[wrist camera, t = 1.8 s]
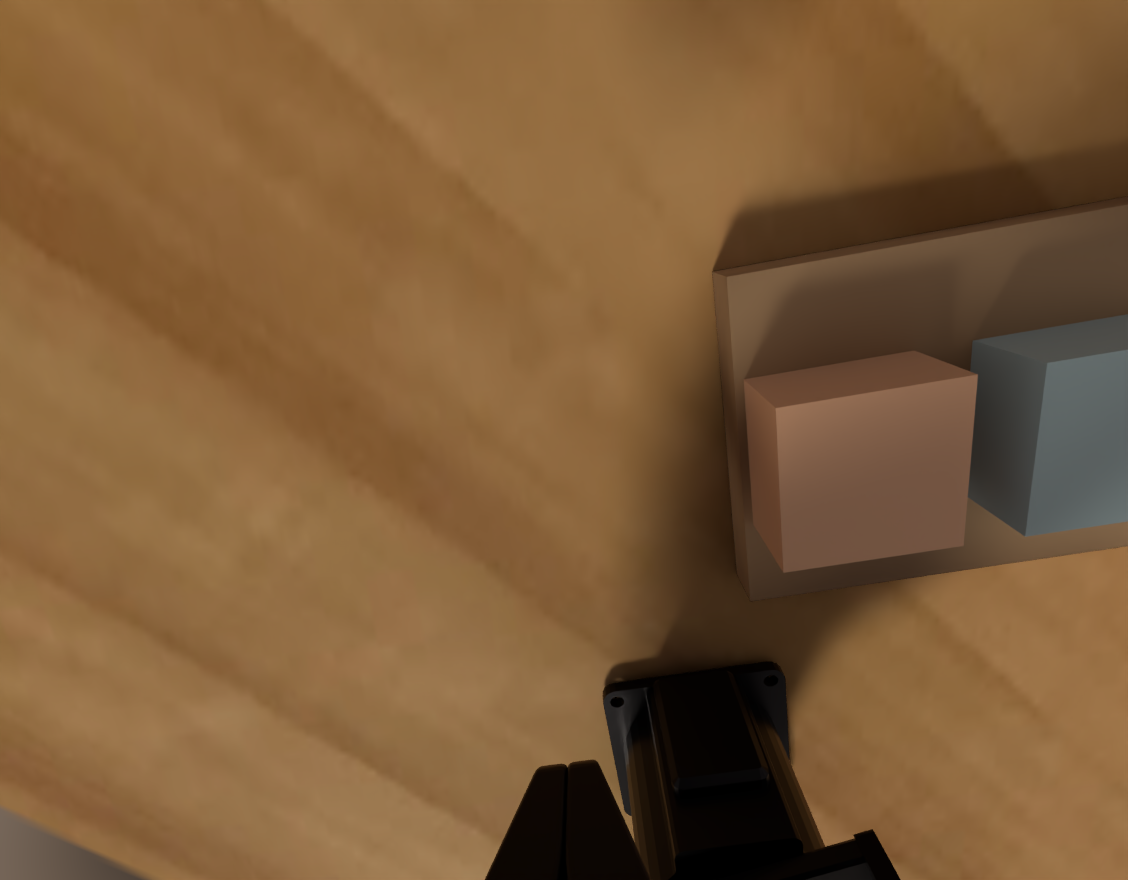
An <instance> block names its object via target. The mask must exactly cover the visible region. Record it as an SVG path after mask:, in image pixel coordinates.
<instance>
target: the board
mask: <svg viewBox="0 0 1128 880" xmlns="http://www.w3.org/2000/svg"><path fill="white" fill-rule="evenodd" d="M712 275H713V287H714V300H715V312H716V324H717V336H718V349H719V361H720V373H721V386H722V398H723V410H724V422H725V435H726V447H727V459H728V471H729V484H730V496H731V508H732V521H733V533H734V545H735V557H736V570H737V575H738V577H739V579H740V581H741V583H742V585H743V587H744V590H745V592H746V594H747V596H748V598H749V600H750V601H757V600H764V599H771V598H778V597H784V596H791V595H798V594H805V593H812V592H818V591H825V590H832V589H839V588H846V587H853V586H859V585H866V584H873V583H880V582H887V581H893V580H900V579H907V578H914V577H921V576H927V575H934V574H941V573H948V572H955V571H962V570H968V569H975V568H982V567H989V566H996V565H1002V564H1009V563H1016V562H1023V561H1030V560H1037V559H1043V558H1050V557H1057V556H1064V555H1071V554H1077V553H1084V552H1091V551H1098V550H1105V549H1112V548H1118V547H1125V546H1128V521H1127V522H1121V523H1114V524H1107V525H1101V526H1094V527H1087V528H1081V529H1074V530H1067V531H1060V532H1054V533H1047V534H1040V535H1034V536H1027V537H1025V536H1023V535H1022V534H1020V533H1019V532H1018V531H1016V530H1015V529H1013V528H1012V527H1010V526H1009V525H1007V524H1006V523H1004V522H1003V521H1002V520H1000V519H999V518H997V517H996V516H994V515H993V514H991V513H990V512H989V511H987V510H986V509H984V508H983V507H981V506H980V505H978V504H977V503H975V502H974V501H973V500H971V499H970V498H968V500H967V512H966V523H965V535H964V546H960V547H953V548H946V549H940V550H933V551H926V552H920V553H913V554H906V555H900V556H893V557H886V558H879V559H873V560H866V561H859V562H853V563H846V564H839V565H832V566H826V567H819V568H812V569H806V570H799V571H792V572H786V573H783V571H782V570H781V568H780V566H779V565H778V563H777V562H776V560H775V558H774V557H773V555H772V554H771V552H770V550H769V549H768V547H767V546H766V544H765V542H764V541H763V539H762V538H761V536H760V534H759V533H758V531H757V530H756V528H755V526H754V525H753V513H752V498H751V483H750V468H749V453H748V438H747V423H746V408H745V393H744V379H749V378H755V377H761V376H767V375H773V374H779V373H785V372H790V371H796V370H802V369H808V368H814V367H820V366H826V365H832V364H838V363H843V362H849V361H855V360H861V359H867V358H873V357H879V356H885V355H891V354H896V353H902V352H908V351H917V352H920V353H922V354H925V355H928V356H930V357H933V358H936V359H938V360H941V361H944V362H946V363H949V364H952V365H954V366H957V367H959V368H962V369H965V370H967V371H970V368H971V355H972V342H973V340H979V339H985V338H991V337H997V336H1002V335H1008V334H1014V333H1020V332H1026V331H1032V330H1038V329H1044V328H1050V327H1055V326H1061V325H1067V324H1073V323H1079V322H1085V321H1091V320H1097V319H1103V318H1109V317H1114V316H1120V315H1126V314H1128V196H1127V197H1121V198H1116V199H1110V200H1105V201H1099V202H1094V203H1088V204H1083V205H1077V206H1072V207H1066V208H1061V209H1055V210H1050V211H1044V212H1039V213H1033V214H1028V215H1022V216H1017V217H1011V218H1006V219H1000V220H995V221H989V222H984V223H978V224H973V225H967V226H962V227H956V228H951V229H945V230H939V231H934V232H928V233H923V234H917V235H912V236H906V237H901V238H895V239H890V240H884V241H879V242H873V243H868V244H862V245H857V246H851V247H846V248H840V249H835V250H829V251H824V252H818V253H813V254H807V255H802V256H796V257H791V258H785V259H780V260H774V261H769V262H763V263H758V264H752V265H747V266H741V267H736V268H730V269H725V270H719V271H714V272H712Z"/></svg>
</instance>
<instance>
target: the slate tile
mask: <svg viewBox="0 0 1128 880" xmlns="http://www.w3.org/2000/svg"><path fill="white" fill-rule="evenodd" d="M970 372H973V373H975V374H978V380H977V392H976V404H975V416H974V428H973V440H972V452H971V464H970V476H969V488H968V498H970V499H971V500H973V501H974V502H975V503H977V504H978V505H980V506H981V507H983V508H984V509H986V510H987V511H989V512H990V513H991V514H993V515H994V516H996V517H997V518H999V519H1000V520H1002V521H1003V522H1004V523H1006V524H1007V525H1009V526H1010V527H1012V528H1013V529H1015V530H1016V531H1018V532H1019V533H1020V534H1022V535H1023V536H1025V537H1027V536H1034V535H1040V534H1047V533H1054V532H1060V531H1067V530H1074V529H1081V528H1087V527H1094V526H1101V525H1107V524H1114V523H1121V522H1127V521H1128V314H1126V315H1120V316H1114V317H1109V318H1103V319H1097V320H1091V321H1085V322H1079V323H1073V324H1067V325H1061V326H1055V327H1050V328H1044V329H1038V330H1032V331H1026V332H1020V333H1014V334H1008V335H1002V336H997V337H991V338H985V339H979V340H973V342H972V355H971V368H970Z"/></svg>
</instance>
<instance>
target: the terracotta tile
mask: <svg viewBox="0 0 1128 880" xmlns="http://www.w3.org/2000/svg"><path fill="white" fill-rule="evenodd" d="M977 380H978V374H975V373H973V372H970V371H967V370H965V369H962V368H959V367H957V366H954V365H952V364H949V363H946V362H944V361H941V360H938V359H936V358H933V357H930V356H928V355H925V354H922V353H920V352H917V351H908V352H902V353H896V354H891V355H885V356H879V357H873V358H867V359H861V360H855V361H849V362H843V363H838V364H832V365H826V366H820V367H814V368H808V369H802V370H796V371H790V372H785V373H779V374H773V375H767V376H761V377H755V378H749V379H744V393H745V408H746V423H747V438H748V453H749V468H750V483H751V498H752V513H753V525H754V526H755V528H756V530H757V531H758V533H759V534H760V536H761V538H762V539H763V541H764V542H765V544H766V546H767V547H768V549H769V550H770V552H771V554H772V555H773V557H774V558H775V560H776V562H777V563H778V565H779V566H780V568H781V570H782V571H783V573H786V572H792V571H799V570H806V569H812V568H819V567H826V566H832V565H839V564H846V563H853V562H859V561H866V560H873V559H879V558H886V557H893V556H900V555H906V554H913V553H920V552H926V551H933V550H940V549H946V548H953V547H960V546H964V535H965V523H966V512H967V500H968V488H969V476H970V464H971V452H972V440H973V428H974V416H975V404H976V392H977Z"/></svg>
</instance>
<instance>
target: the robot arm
mask: <svg viewBox="0 0 1128 880" xmlns="http://www.w3.org/2000/svg"><path fill="white" fill-rule="evenodd" d="M770 675H773V676H772V677H769V678H766V677H767V676H770ZM614 697H621V698H619V699H613V698H614ZM603 704H604V709H605V714H606V719H607V725H608V730H609V735H610V740H611V745H612V750H613V755H614V760H615V765H616V770H617V775H618V780H619V785H620V790H621V795H622V800H623V805H624V810H625V812H626V813H627V814H628V815H630V816H632V823H633V832H634V840H635V842H634V840H633V838H632V836H631V834H630V831H629V829H628V827H627V825H626V823H625V820H624V818H623V816H622V814H621V812H620V809H619V807H618V805H617V803H616V801H615V798H614V796H613V794H612V792H611V790H610V787H609V785H608V783H607V781H606V779H605V776H604V774H603V772H602V770H601V768H600V766H599V764H598V762H597V761H596V760H585V761H578V762H572V763H570V764H569V766H568V767H567V766H566V765H565V764H555V765H548V766H541V767H539V768H538V769H537V770H536V771H535V773H534V775H533V777H532V779H531V781H530V784H529V786H528V788H527V790H526V792H525V794H524V797H523V799H522V801H521V803H520V805H519V807H518V809H517V812H516V814H515V816H514V818H513V820H512V822H511V824H510V827H509V829H508V831H507V833H506V835H505V837H504V839H503V842H502V844H501V846H500V848H499V850H498V852H497V854H496V857H495V859H494V861H493V863H492V865H491V867H490V869H489V872H488V874H487V876H486V878H485V880H900V878H899V876H898V874H897V872H896V871H895V869H894V867H893V865H892V863H891V861H890V860H889V858H888V856H887V854H886V852H885V851H884V849H883V847H882V845H881V843H880V842H879V840H878V838H877V836H876V834H875V832H874V831H873V829H871V830H868V831H864V832H861V833H857V834H854V838H855V839H851V840H848V841H844V842H841V843H837V844H834V845H830V846H827V847H825V845H824V843H823V840H822V838H821V835H820V833H819V831H818V828H817V826H816V824H815V821H814V819H813V816H812V814H811V812H810V809H809V807H808V804H807V802H806V800H805V797H804V795H803V792H802V790H801V788H800V785H799V783H798V780H797V778H796V776H795V773H794V771H793V769H792V766H791V764H790V761H789V743H788V723H787V703H786V683H785V676H784V674H783V672H782V670H781V668H780V666H779V665H778V664H777V663H774V662H761V663H754V664H747V665H740V666H733V667H725V668H718V669H711V670H704V671H697V672H690V673H683V674H675V675H668V676H661V677H654V678H647V679H640V680H633V681H626V682H618V683H613V684H610V685H608V686H607V687H605V689H604V690H603Z"/></svg>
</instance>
